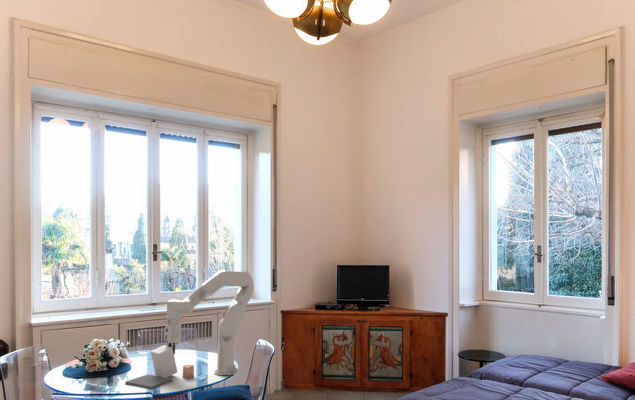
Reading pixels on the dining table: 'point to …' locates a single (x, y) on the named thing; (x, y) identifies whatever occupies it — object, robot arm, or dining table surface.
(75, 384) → the dining table surface
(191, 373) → the tan small cube
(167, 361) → the supplement box
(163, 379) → the board
